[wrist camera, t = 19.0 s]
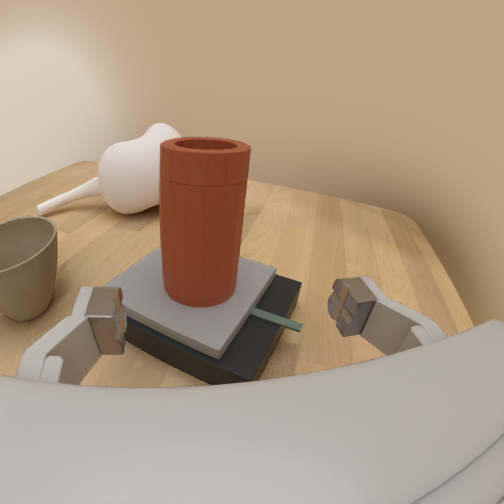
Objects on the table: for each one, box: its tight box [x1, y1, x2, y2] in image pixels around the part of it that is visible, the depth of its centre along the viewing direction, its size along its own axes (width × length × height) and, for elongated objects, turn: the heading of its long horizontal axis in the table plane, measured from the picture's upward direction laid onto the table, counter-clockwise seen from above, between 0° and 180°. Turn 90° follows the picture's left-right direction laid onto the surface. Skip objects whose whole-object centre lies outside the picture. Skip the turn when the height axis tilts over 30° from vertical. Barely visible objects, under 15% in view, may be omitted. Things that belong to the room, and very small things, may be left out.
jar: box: [159, 137, 251, 307], centre depth 21 cm, size 6×6×11 cm
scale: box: [104, 246, 302, 385], centre depth 24 cm, size 12×16×4 cm
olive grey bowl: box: [0, 216, 57, 321], centre depth 20 cm, size 10×10×7 cm
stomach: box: [36, 123, 182, 216], centre depth 42 cm, size 23×13×24 cm
